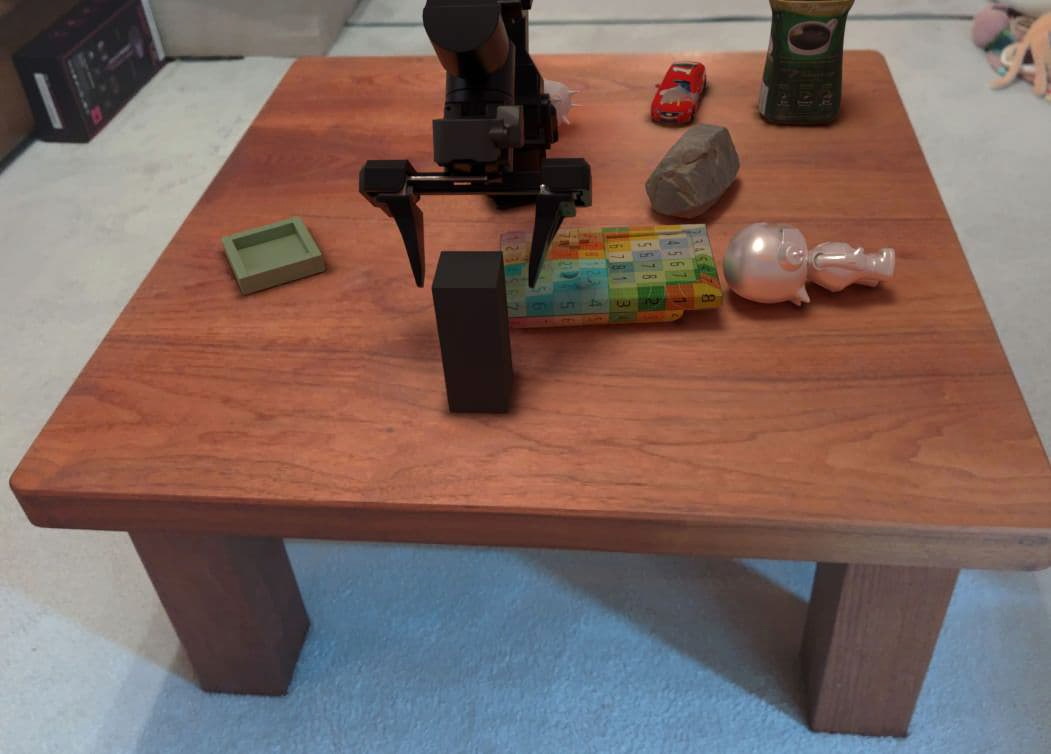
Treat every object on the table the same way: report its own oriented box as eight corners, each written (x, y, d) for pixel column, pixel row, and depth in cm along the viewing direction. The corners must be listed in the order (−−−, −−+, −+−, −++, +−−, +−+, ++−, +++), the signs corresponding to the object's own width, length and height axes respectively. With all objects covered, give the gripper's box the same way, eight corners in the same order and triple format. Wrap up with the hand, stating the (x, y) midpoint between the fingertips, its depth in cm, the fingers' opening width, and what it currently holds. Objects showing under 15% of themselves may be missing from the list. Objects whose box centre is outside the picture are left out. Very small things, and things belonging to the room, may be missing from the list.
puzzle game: (499, 226, 98) (705, 215, 97) (503, 265, 101) (703, 256, 100) (496, 297, 89) (723, 287, 88) (500, 338, 92) (720, 329, 91)
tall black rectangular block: (457, 373, 89) (440, 250, 80) (513, 374, 88) (502, 250, 80) (449, 412, 85) (431, 287, 77) (507, 413, 85) (496, 287, 76)
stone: (678, 165, 114) (681, 101, 109) (746, 178, 111) (753, 113, 106) (634, 219, 106) (635, 152, 101) (707, 235, 103) (711, 167, 98)
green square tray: (303, 231, 108) (299, 215, 107) (325, 270, 102) (322, 254, 101) (225, 253, 106) (220, 237, 104) (243, 295, 100) (238, 279, 98)
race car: (689, 131, 120) (691, 100, 117) (645, 126, 122) (645, 95, 119) (711, 83, 129) (713, 53, 127) (670, 79, 131) (671, 49, 128)
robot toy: (434, 111, 119) (542, 137, 113) (449, 35, 116) (559, 57, 111) (494, 123, 132) (593, 147, 126) (509, 55, 130) (610, 76, 124)
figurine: (911, 223, 88) (746, 204, 87) (906, 307, 88) (740, 289, 86) (859, 246, 99) (711, 230, 97) (855, 321, 98) (705, 306, 97)
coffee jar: (835, 98, 124) (859, -58, 112) (841, 128, 118) (867, -33, 106) (755, 97, 126) (771, -57, 114) (757, 126, 120) (773, -32, 108)
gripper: (342, 66, 76) (335, 269, 75) (588, 61, 74) (585, 270, 73) (378, 115, 87) (373, 292, 86) (593, 112, 85) (590, 293, 84)
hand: (475, 287), depth 82 cm, fingers open, 9 cm apart
